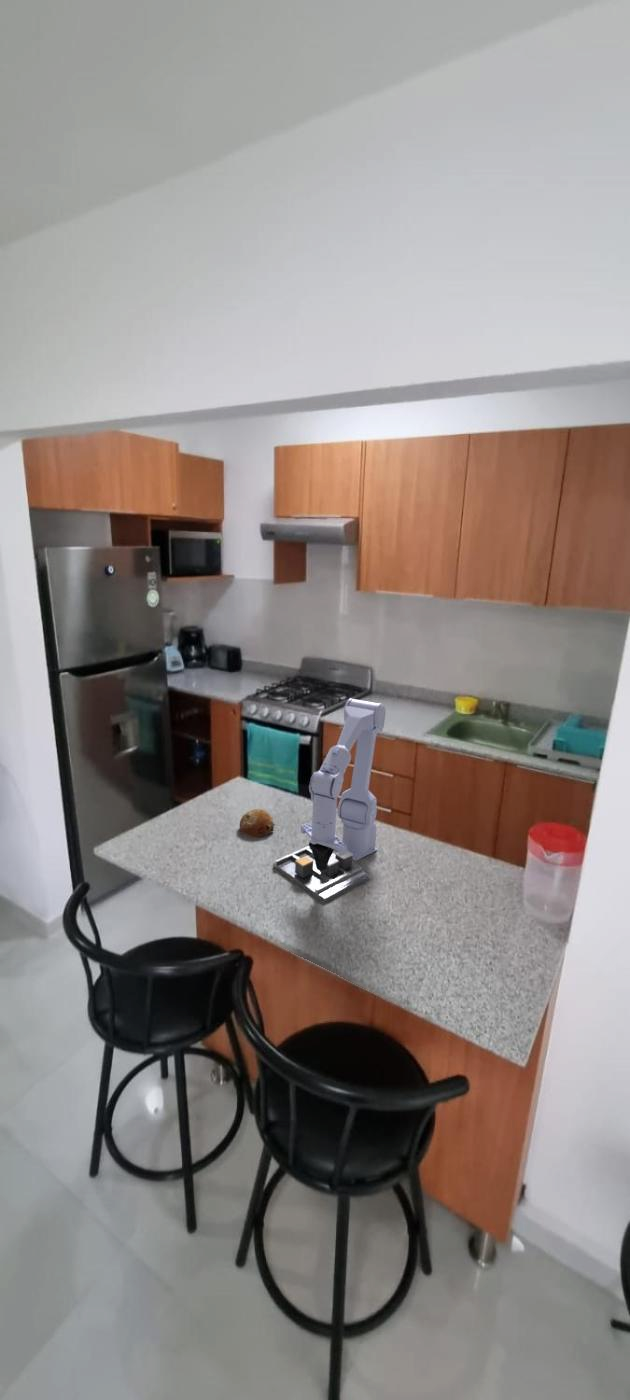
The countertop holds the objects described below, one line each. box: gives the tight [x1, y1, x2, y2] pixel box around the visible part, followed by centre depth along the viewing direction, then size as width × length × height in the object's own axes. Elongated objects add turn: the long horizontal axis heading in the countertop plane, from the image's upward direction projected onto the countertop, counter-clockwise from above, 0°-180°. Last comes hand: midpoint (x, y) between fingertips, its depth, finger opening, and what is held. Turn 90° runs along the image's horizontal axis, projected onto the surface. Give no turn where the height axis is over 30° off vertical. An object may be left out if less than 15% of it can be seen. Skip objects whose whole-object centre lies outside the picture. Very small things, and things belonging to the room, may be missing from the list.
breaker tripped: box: [295, 856, 313, 878], centre depth 144 cm, size 3×3×4 cm
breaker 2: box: [335, 851, 353, 870], centre depth 148 cm, size 3×3×4 cm
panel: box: [272, 845, 370, 904], centre depth 147 cm, size 16×20×2 cm
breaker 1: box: [321, 856, 339, 877], centre depth 145 cm, size 3×3×4 cm
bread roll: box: [239, 808, 276, 838], centre depth 168 cm, size 10×10×8 cm
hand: (321, 868), depth 139 cm, fingers closed
